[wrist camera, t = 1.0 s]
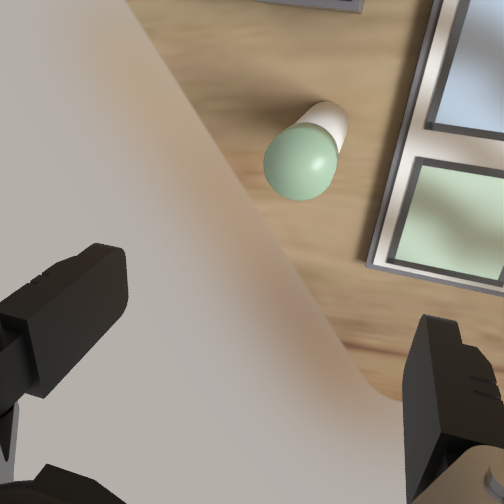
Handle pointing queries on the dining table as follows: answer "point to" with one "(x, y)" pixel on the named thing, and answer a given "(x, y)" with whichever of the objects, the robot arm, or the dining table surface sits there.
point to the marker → (307, 152)
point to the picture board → (450, 157)
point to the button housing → (321, 4)
